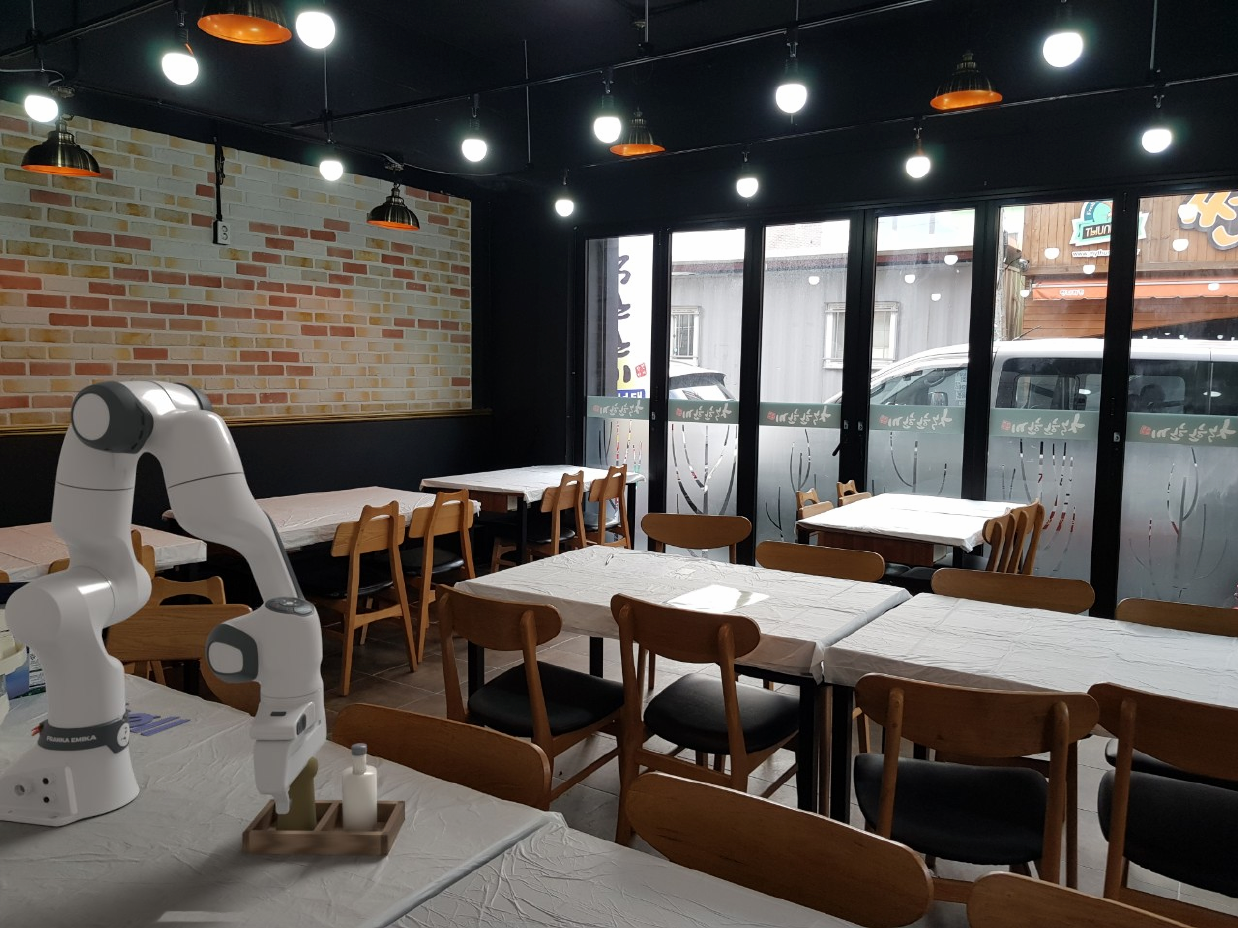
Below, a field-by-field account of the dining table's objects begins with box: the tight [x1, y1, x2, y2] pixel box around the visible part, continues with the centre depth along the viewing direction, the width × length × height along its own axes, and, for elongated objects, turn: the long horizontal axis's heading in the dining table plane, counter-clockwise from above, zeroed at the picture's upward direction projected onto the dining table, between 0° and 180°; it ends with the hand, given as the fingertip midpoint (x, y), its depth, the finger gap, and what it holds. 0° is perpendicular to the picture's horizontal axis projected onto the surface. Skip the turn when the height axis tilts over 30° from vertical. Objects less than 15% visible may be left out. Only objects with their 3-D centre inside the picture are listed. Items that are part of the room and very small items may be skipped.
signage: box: [125, 702, 191, 737], centre depth 190 cm, size 28×1×10 cm
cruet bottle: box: [341, 742, 378, 832], centre depth 138 cm, size 5×5×14 cm
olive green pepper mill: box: [275, 757, 319, 831], centre depth 140 cm, size 6×6×11 cm
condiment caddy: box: [241, 798, 406, 856], centre depth 139 cm, size 21×11×4 cm, turn 90°
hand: (295, 797), depth 138 cm, fingers open, 8 cm apart
